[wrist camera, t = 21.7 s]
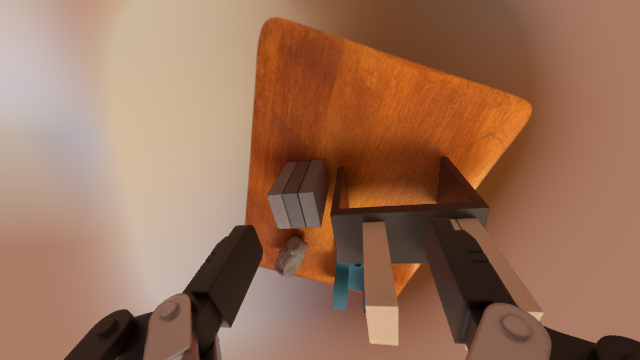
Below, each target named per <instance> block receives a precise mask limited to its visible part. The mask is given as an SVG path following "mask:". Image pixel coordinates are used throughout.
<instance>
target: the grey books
mask: <svg viewBox="0 0 640 360" xmlns="http://www.w3.org/2000/svg"><path fill="white" fill-rule="evenodd" d="M328 190H329V188H328V182H327V176H326V171H325V165H324V160H323V159H317V160H306V161H299V162H298V161H297V162H287V163H286V165H285V166H284V168H283V170H282V171H281V173H280V174H279V176H278V178H277V179H276V181H275V183H274V184H273V186H272V188H271V189H270V191H269V192H268V194H267V198H268V201H269V204H270V207H271V210H272V213H273V215H274V218H275V221H276V224H277V227H278V229H290V228H291V227H292V228H306V226H307V228H317V227H321V225H322V220H323V215H324V210H325V205H326V200H327V195H328Z"/></svg>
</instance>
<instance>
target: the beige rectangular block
mask: <svg viewBox="0 0 640 360" xmlns="http://www.w3.org/2000/svg"><path fill="white" fill-rule="evenodd" d="M363 254H364V285H365V308H366V317H367V324H368V333H369V341H370V343H371V344H386V345H398V303H397V297H396V290H395V284H394V278H393V272H392V265H391V259H390V253H389V246H388V240H387V234H386V228H385V222H363Z"/></svg>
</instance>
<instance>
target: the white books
mask: <svg viewBox="0 0 640 360" xmlns="http://www.w3.org/2000/svg"><path fill="white" fill-rule="evenodd" d="M449 220H450V221H451V223H452V225H453V227H454V229H455V230H465V231H466V232H468V233H469V234H470V235H471V236H473V237H474V238H475V239H476V240H477V242H478V243H479V245H480V247H481V248H482V250H483V253H485V255H486V256H487V258H488V259H489V263H491V264H492V266H493V267H494V269H495V271H496V272H497V274H498V275H499V277H500V279H501V280H502V282H503V283H504V285H505V287H506V288H507V290H508V292H509V293H510V295H511V296H512V298H513V300H514V301H515V303H516V304H517V305H518V307H519V308H521V309H523V310H525V311H527V312H528V313H530V314H531V315H532V316H534V317H535V318H536V319H537V320H538V321H539V320H540V319H541V317H542V315H543V313H544V312H543V311H542V309H541V308H540V306H539V305H538V303H537V302H536V301H535V299H534V298H533V296H532V295H531V294H530V292H529V291H528V290H527V288H526V286H525V285H524V284H523V282H522V281H521V280H520V278H519V277H518V275H517V274H516V272H515V271H514V269H513V268H512V267H511V265H510V264H509V262H508V261H507V260H506V258H505V257H504V255H503V254H502V253H501V251H500V250H499V248H498V247H497V245H496V244H495V243H494V241H493V240H492V238H491V237H490V236H489V234H488V233H487V231H486V230H485V228H484V227H483V226H482V224H481V223H480V221H479V220H478V219H477V218H465V219H457V220H455V219H449ZM463 346H464V349H465V350H468V349H467V346H466V344H463Z"/></svg>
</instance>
